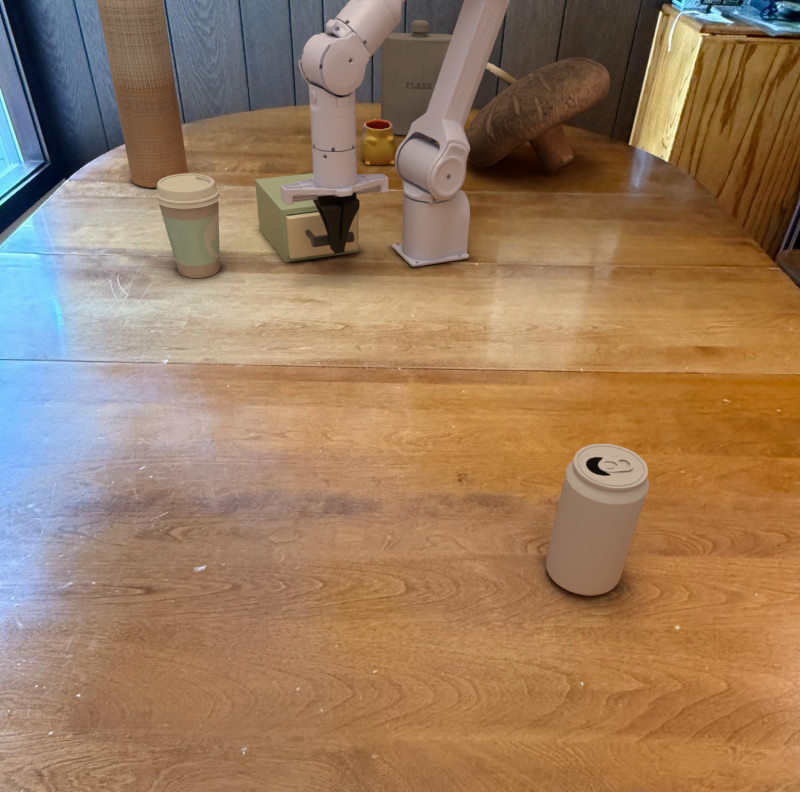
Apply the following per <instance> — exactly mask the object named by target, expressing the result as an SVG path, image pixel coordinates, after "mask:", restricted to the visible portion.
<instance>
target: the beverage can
mask: <svg viewBox="0 0 800 792" xmlns="http://www.w3.org/2000/svg"><path fill="white" fill-rule="evenodd" d="M648 475H649V468H648V464H647V463H646V462H645V460H644V458H642V457H641V456H640V455H639V454H637V453H636V452H634V451H633V450H631V449H629V448H627V447H624V446H620V445H618V444H617V445H616V444H612V443H593V444H589V445H586V446H583V447H581V448H579V449H578V450H577V451H576V452H575V454H574V456H573V459H572V460H571V461H570V462H569V463H568V465H567V467H566V469H565V472H564V478H563V482H562V487H561V491H560V495H559V500H558V504H557V508H556V514H555V518H554V523H553V526H552V531H551V536H550V540H549V544H548V549H547V554H546V558H545V567H546V568H545V569H546V571H547V574H548V575H549V577H550V578H551V580H552V581H553V582H554V583H556V584H557V585H558V586H559V587H561V588H562V589H563V590H566V591H568V592H570V593H573V594H576V595H581V596H599V595H603V594H606V593H608V592H611V591H612V590H613V589H614V588H615V587H616V586H617V585H618V584H619V582H620V580H621V576H622V574H623V570H624V568H625V564H626V561H627V558H628V554H629V551H630V548H631V545H632V542H633V538H634V536H635V533H636V529H637V527H638V523H639V521H640V517H641V514H642V511H643V508H644V504H645V501H646V498H647V495H648V491H649V488H650V482H649V481H650V480H649V478H648Z"/></svg>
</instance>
